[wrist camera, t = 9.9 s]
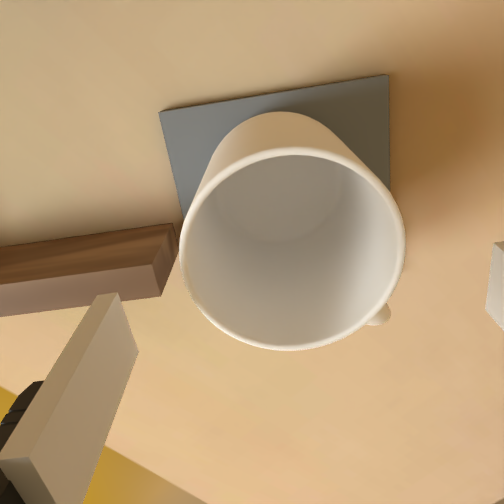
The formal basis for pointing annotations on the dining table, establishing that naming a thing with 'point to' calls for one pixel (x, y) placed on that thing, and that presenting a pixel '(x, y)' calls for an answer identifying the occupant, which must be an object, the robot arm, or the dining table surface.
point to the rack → (86, 269)
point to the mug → (290, 237)
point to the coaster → (297, 101)
